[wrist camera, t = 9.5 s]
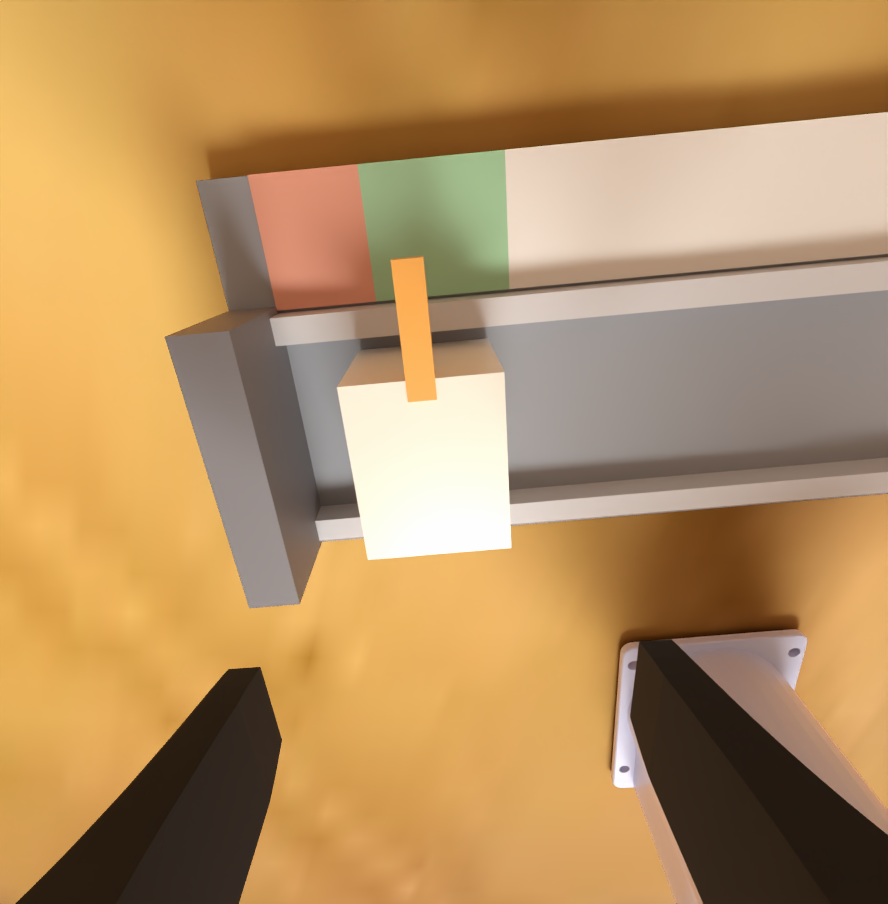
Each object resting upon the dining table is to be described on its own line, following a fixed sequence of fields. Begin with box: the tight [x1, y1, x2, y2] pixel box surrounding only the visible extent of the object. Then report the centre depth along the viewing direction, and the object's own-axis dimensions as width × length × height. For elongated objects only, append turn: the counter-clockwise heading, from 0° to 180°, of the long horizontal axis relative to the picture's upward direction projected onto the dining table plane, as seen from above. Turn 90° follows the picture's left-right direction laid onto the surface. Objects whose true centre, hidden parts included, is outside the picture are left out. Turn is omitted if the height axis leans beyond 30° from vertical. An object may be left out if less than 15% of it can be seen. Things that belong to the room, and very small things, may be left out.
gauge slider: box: [337, 256, 511, 560], centre depth 14 cm, size 8×4×4 cm, turn 5°
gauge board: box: [165, 112, 888, 608], centre depth 15 cm, size 12×24×5 cm, turn 95°
